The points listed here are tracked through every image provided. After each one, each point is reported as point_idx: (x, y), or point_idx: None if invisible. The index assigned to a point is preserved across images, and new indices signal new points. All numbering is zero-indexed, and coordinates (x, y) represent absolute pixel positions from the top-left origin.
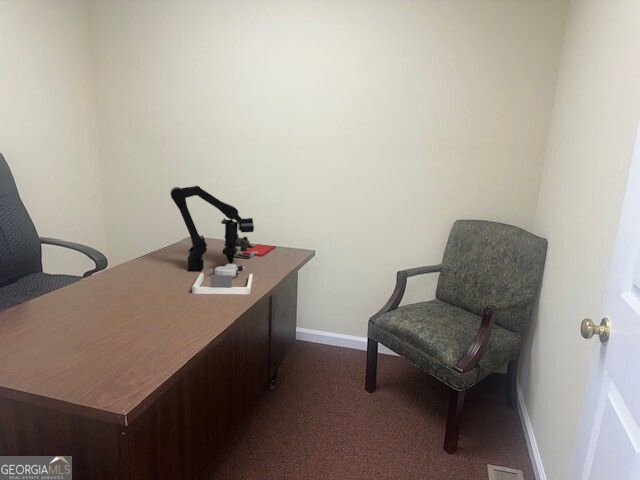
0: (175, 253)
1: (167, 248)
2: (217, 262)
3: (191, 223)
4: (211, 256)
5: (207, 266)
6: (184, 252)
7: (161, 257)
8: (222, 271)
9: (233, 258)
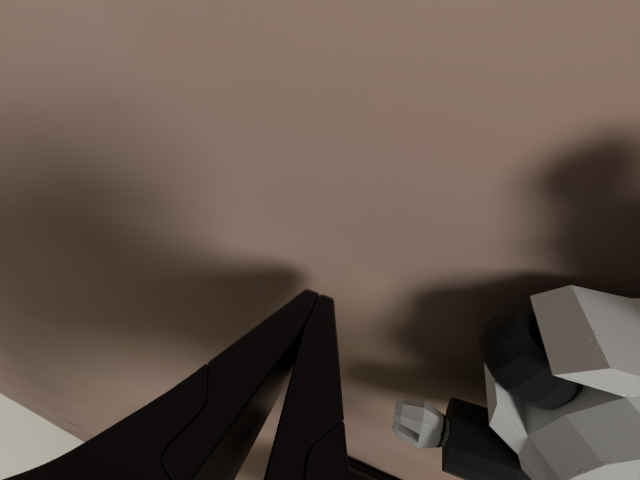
0: (61, 408)
1: (12, 399)
2: (150, 323)
3: None
4: (18, 305)
5: (272, 410)
6: (27, 380)
7: None
8: None
9: (331, 418)
